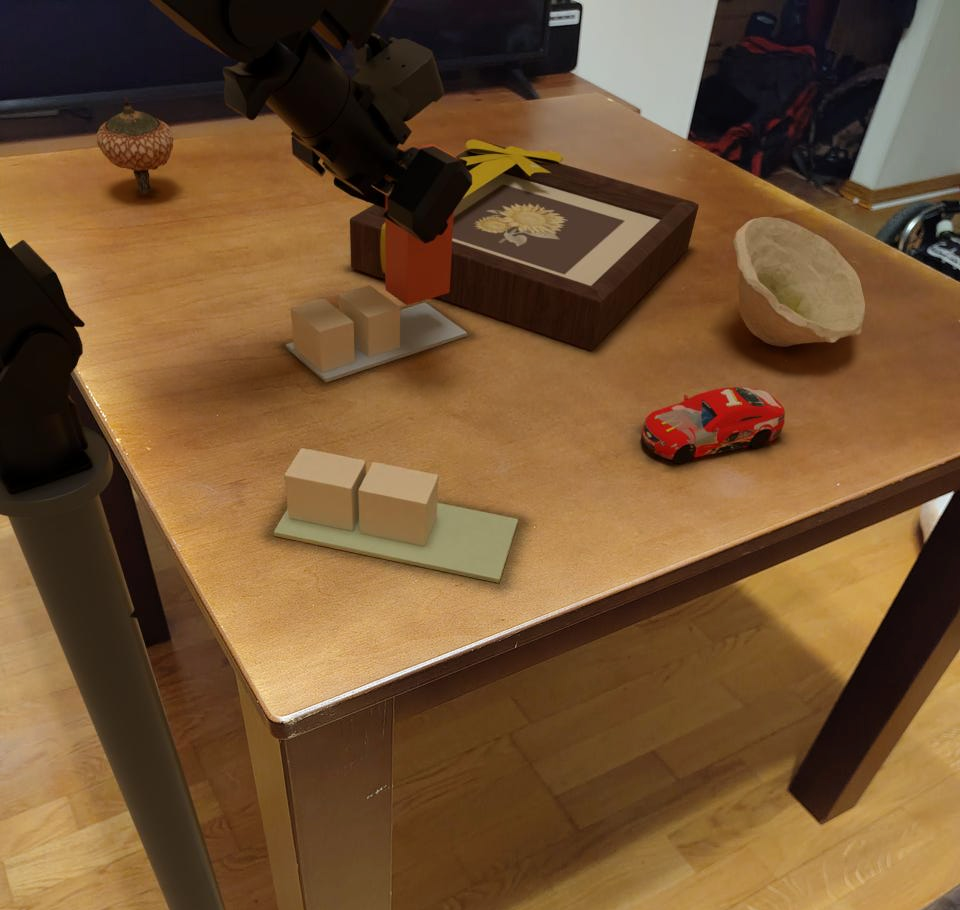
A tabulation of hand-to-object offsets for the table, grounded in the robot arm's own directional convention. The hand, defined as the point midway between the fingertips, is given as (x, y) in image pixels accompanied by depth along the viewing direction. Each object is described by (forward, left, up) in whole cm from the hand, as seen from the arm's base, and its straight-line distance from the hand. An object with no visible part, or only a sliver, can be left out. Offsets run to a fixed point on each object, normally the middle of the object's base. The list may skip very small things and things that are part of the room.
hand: (431, 222), depth 80 cm
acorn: (-10, +41, -10) cm, 44 cm away
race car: (+10, -28, -10) cm, 32 cm away
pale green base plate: (-20, -23, -10) cm, 32 cm away
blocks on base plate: (-6, 0, -10) cm, 12 cm away
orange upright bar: (-1, 0, -6) cm, 6 cm away
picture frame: (+19, +6, -10) cm, 22 cm away
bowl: (+30, -21, -10) cm, 38 cm away
